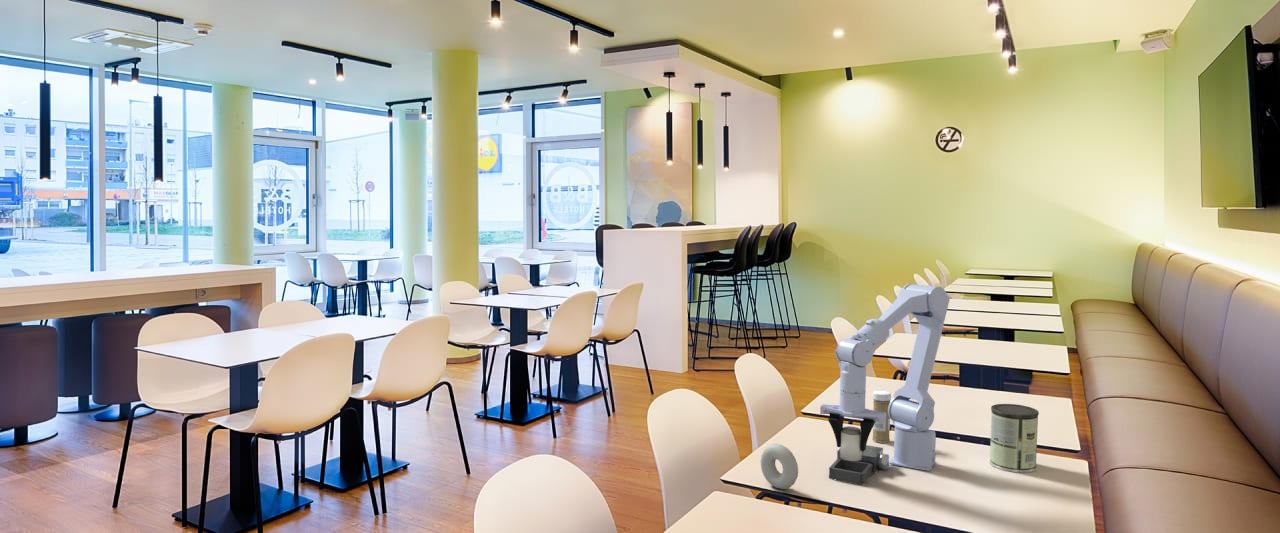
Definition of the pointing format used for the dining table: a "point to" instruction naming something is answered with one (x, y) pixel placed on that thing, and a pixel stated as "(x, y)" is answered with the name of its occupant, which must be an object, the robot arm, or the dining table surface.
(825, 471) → the dining table surface
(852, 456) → the white gray cylinder
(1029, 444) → the coffee can
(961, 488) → the dining table surface
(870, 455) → the drawer
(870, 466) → the dark grey square tray
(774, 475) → the donut
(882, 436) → the sprinkles bottle
